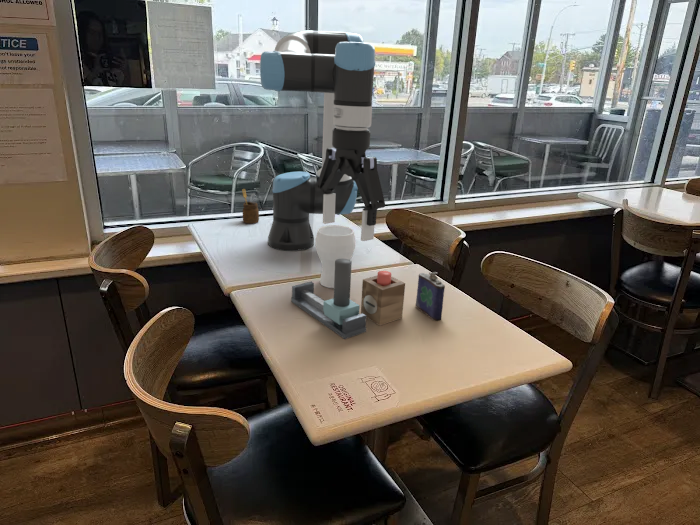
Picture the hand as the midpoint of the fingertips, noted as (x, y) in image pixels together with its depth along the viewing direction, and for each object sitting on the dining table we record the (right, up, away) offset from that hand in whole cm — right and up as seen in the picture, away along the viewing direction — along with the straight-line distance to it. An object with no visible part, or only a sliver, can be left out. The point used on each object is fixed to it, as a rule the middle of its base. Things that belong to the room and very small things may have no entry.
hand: (347, 231), depth 105 cm
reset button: (+8, -13, +11) cm, 19 cm away
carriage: (-1, -19, +7) cm, 20 cm away
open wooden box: (+8, -19, +13) cm, 25 cm away
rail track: (-5, -19, +12) cm, 23 cm away
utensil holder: (-37, +8, +80) cm, 89 cm away
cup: (-4, -12, +30) cm, 33 cm away
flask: (+20, -19, +16) cm, 32 cm away
